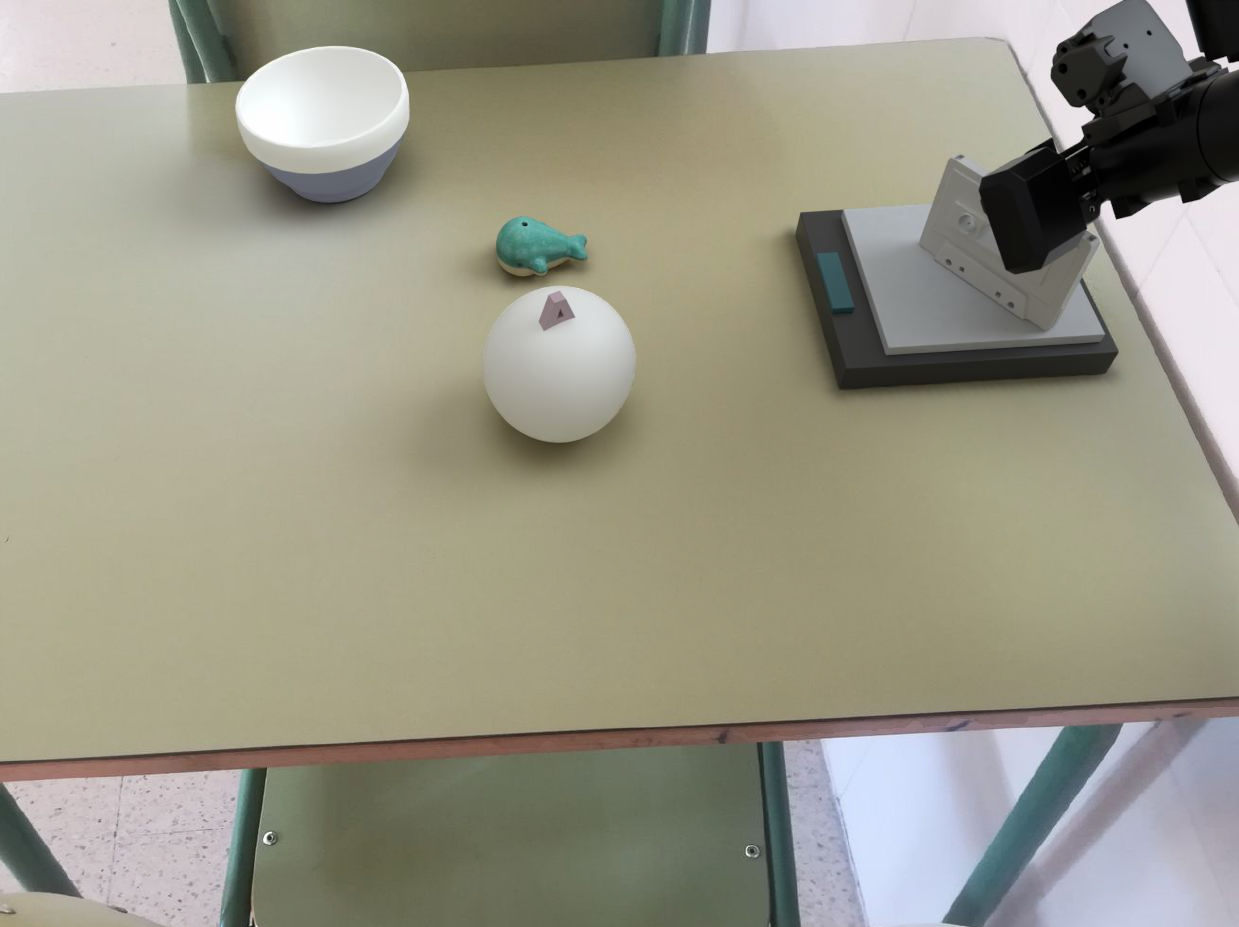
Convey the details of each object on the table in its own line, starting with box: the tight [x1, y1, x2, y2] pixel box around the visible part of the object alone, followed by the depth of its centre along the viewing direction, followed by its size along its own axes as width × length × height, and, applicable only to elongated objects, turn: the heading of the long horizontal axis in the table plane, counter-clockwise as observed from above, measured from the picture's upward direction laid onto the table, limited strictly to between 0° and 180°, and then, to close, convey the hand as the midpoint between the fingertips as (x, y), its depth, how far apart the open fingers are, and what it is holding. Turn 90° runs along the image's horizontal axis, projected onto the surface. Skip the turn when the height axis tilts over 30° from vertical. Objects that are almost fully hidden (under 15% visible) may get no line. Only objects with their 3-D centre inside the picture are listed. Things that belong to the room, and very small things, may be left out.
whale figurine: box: [495, 215, 588, 277], centre depth 84 cm, size 6×7×4 cm
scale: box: [794, 202, 1120, 390], centre depth 79 cm, size 19×17×3 cm
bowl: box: [234, 45, 410, 204], centre depth 90 cm, size 14×14×8 cm
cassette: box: [919, 152, 1101, 331], centre depth 73 cm, size 12×2×8 cm, turn 35°
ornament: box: [481, 285, 637, 444], centre depth 71 cm, size 10×10×12 cm
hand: (999, 196), depth 72 cm, fingers open, 3 cm apart
